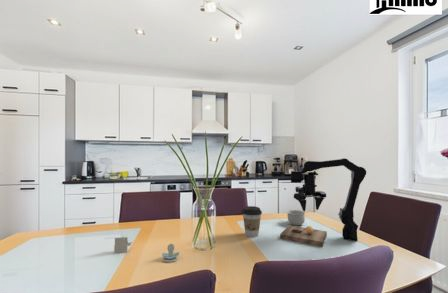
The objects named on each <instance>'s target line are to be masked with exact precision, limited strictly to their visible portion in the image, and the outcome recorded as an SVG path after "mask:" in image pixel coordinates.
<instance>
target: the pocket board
mask: <svg viewBox="0 0 448 293" xmlns="http://www.w3.org/2000/svg"><path fill="white" fill-rule="evenodd" d="M327 234H328V231H326V230H322V229H321V230H320V229H315V228H313V233H312V234H308V233H307V232H306V227H302V226H295V225H289V224H288V225H287V226H286V228H285V229H284V230H283V231H281V233H280V234H279V239H280V240H284V241H289V242H293V243H299V244H304V245H307V246H308V245H309V246H313V247H319V248H323V247H324V244H325V242H326V238H327V236H328V235H327Z"/></svg>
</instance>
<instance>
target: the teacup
mask: <svg viewBox="0 0 448 293" xmlns="http://www.w3.org/2000/svg"><path fill="white" fill-rule="evenodd" d="M305 212H306V211H305ZM305 212H304V211H303V210H299V209H297V210H296V209H289V210H287V212H286V213H287V221H288V222H289V224H291V226H297V227H300V226H302V225H303V224H304V223H305V221H306V220H305V217H306V215H305V214H306V213H305Z"/></svg>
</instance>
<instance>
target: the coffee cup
mask: <svg viewBox="0 0 448 293" xmlns="http://www.w3.org/2000/svg"><path fill="white" fill-rule="evenodd" d="M241 213H242V217H243V226H244V232H245V236H246V237H248V236H249V238H257V237H258V236H259V234H260V225H261V220H262V219H261V218H262V217H261V216H262V214H263V211H262V210H261V208H260V207H259V206H252V205H251V206H250V205H249V206H248V205H247V206H245V207H243V209H242V210H241Z"/></svg>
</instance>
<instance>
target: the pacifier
mask: <svg viewBox="0 0 448 293" xmlns="http://www.w3.org/2000/svg"><path fill="white" fill-rule="evenodd" d="M174 250H175V245H174V244H173V243H170V244H167V252H162V253H161V255H162V257H163V258H162V262H165V263H173V262H177V261H178V260H179V259H178V256H179V255H180V252H179V251H177V252H174Z"/></svg>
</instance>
